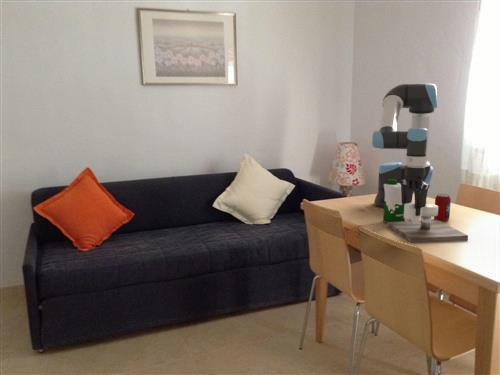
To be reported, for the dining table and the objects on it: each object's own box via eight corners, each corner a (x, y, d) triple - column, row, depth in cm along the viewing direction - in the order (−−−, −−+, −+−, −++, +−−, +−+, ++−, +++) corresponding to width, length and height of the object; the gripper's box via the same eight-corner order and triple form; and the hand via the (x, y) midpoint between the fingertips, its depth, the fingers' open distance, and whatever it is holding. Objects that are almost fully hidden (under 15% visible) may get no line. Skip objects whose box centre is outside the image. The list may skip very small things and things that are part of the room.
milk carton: (393, 218, 212) (395, 177, 208) (408, 223, 204) (410, 180, 200) (379, 221, 208) (381, 179, 204) (394, 225, 200) (396, 182, 196)
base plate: (386, 226, 200) (387, 221, 199) (437, 224, 202) (437, 219, 202) (411, 242, 176) (411, 237, 176) (467, 240, 179) (468, 235, 178)
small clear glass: (418, 227, 191) (419, 213, 189) (427, 226, 191) (428, 213, 190) (423, 229, 187) (424, 216, 185) (432, 229, 187) (433, 215, 186)
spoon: (423, 210, 194) (424, 197, 192) (442, 214, 186) (443, 200, 185) (397, 216, 184) (397, 202, 183) (415, 221, 177) (416, 206, 176)
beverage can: (450, 221, 206) (452, 196, 203) (435, 221, 207) (437, 196, 205) (447, 218, 212) (449, 193, 210) (432, 217, 213) (434, 193, 211)
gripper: (393, 164, 184) (391, 219, 188) (425, 169, 170) (421, 227, 175) (406, 163, 187) (403, 216, 192) (438, 167, 174) (434, 225, 178)
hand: (412, 222), depth 183 cm, fingers closed on spoon, 3 cm apart
